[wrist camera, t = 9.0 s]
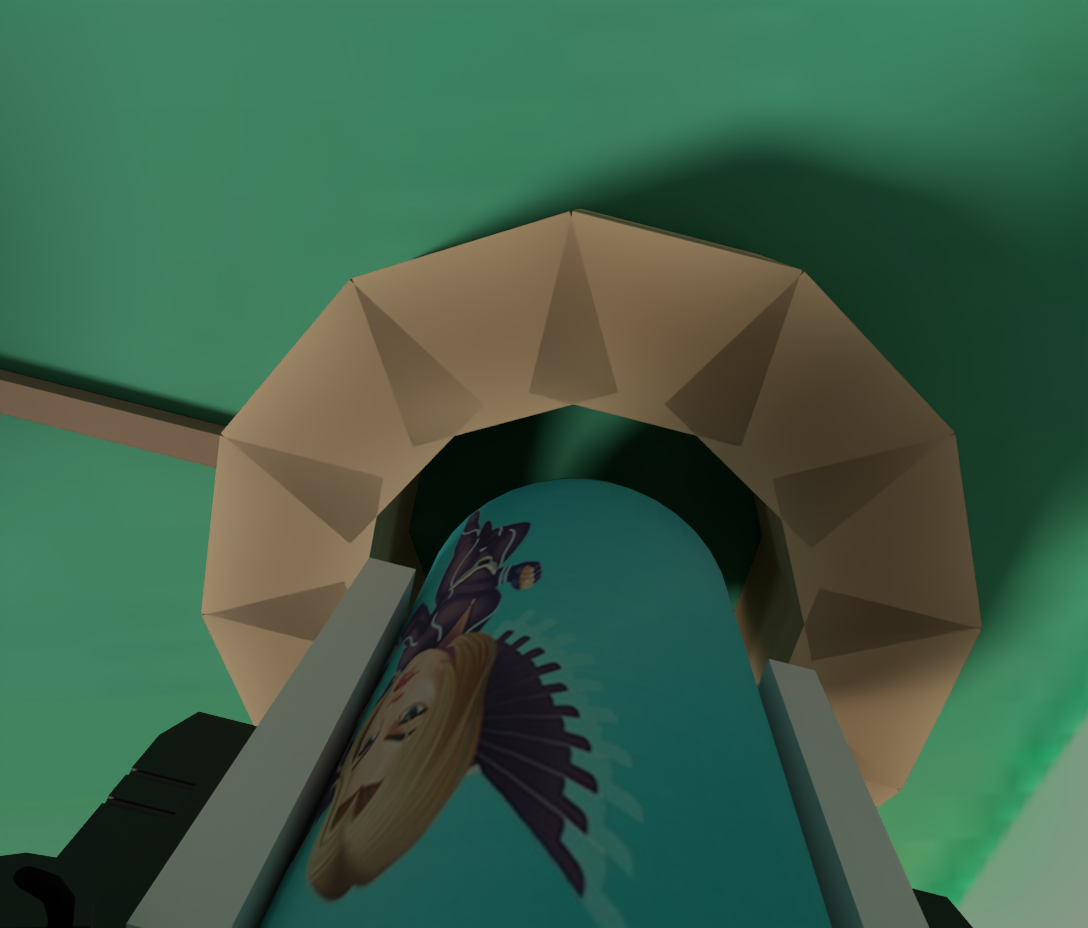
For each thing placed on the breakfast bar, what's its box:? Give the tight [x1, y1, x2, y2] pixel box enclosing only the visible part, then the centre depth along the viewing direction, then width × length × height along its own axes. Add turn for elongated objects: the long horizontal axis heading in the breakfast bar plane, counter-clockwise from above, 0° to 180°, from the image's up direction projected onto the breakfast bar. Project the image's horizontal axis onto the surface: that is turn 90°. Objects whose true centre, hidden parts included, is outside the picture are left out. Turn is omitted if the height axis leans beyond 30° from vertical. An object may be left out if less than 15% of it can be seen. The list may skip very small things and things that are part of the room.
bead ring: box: [201, 209, 982, 808], centre depth 16 cm, size 14×14×4 cm
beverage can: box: [259, 478, 832, 928], centre depth 9 cm, size 6×6×15 cm
